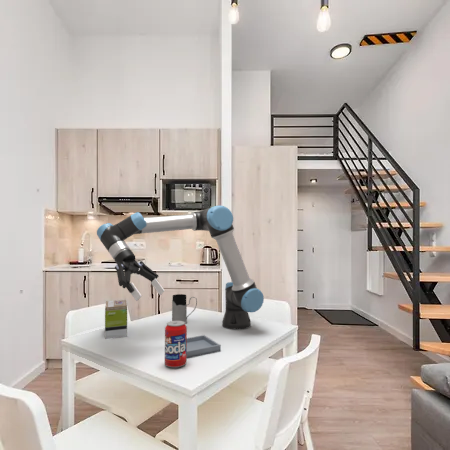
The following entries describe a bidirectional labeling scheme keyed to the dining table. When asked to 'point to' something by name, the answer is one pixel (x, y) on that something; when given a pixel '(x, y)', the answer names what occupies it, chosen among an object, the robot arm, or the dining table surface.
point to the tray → (201, 346)
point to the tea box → (115, 319)
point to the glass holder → (180, 308)
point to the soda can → (175, 344)
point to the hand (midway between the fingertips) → (151, 295)
